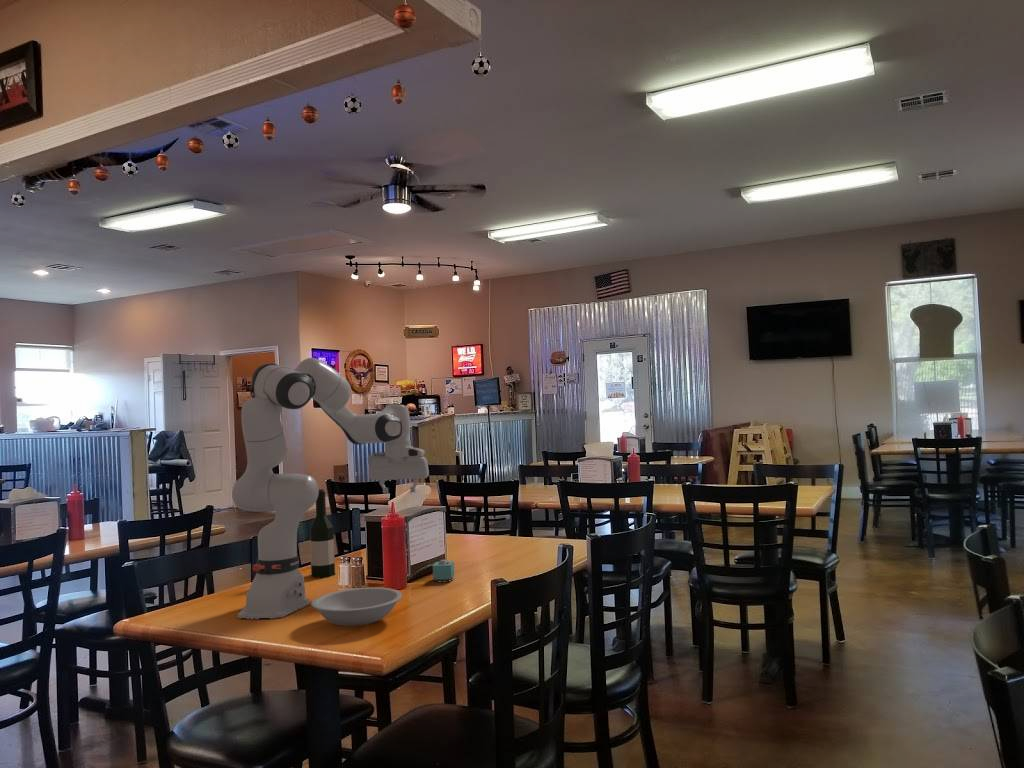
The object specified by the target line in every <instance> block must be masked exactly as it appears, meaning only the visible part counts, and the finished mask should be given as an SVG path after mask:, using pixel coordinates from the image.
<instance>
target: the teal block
mask: <svg viewBox="0 0 1024 768" xmlns="http://www.w3.org/2000/svg"><path fill="white" fill-rule="evenodd" d="M432 576H433V577H432V579H433V580H434V581H435V580H438V579H452V578H453V579H454V576H455V561H447V565H440V561H436V562H434V564H433V565H432ZM433 580H432V581H433Z"/></svg>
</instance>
